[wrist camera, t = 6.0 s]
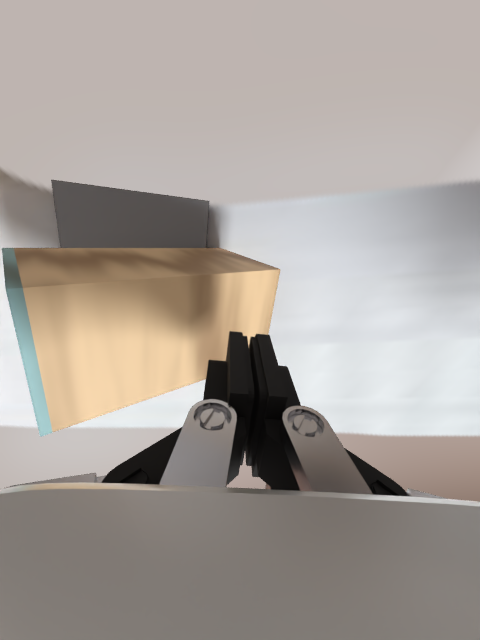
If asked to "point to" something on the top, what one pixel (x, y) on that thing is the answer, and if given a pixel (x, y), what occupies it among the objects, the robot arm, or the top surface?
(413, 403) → the top surface
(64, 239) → the mat
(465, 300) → the top surface
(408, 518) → the robot arm
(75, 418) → the oak block
